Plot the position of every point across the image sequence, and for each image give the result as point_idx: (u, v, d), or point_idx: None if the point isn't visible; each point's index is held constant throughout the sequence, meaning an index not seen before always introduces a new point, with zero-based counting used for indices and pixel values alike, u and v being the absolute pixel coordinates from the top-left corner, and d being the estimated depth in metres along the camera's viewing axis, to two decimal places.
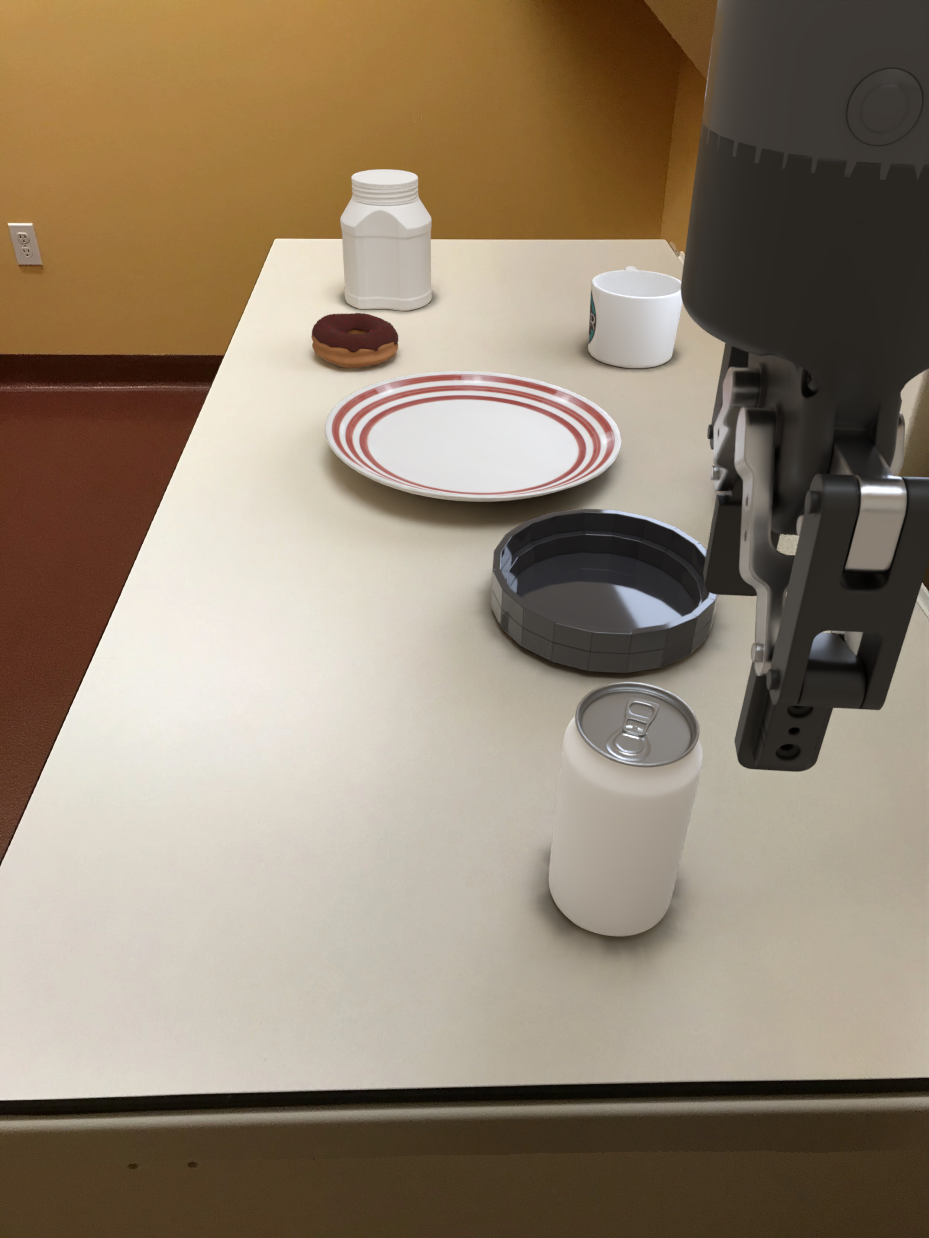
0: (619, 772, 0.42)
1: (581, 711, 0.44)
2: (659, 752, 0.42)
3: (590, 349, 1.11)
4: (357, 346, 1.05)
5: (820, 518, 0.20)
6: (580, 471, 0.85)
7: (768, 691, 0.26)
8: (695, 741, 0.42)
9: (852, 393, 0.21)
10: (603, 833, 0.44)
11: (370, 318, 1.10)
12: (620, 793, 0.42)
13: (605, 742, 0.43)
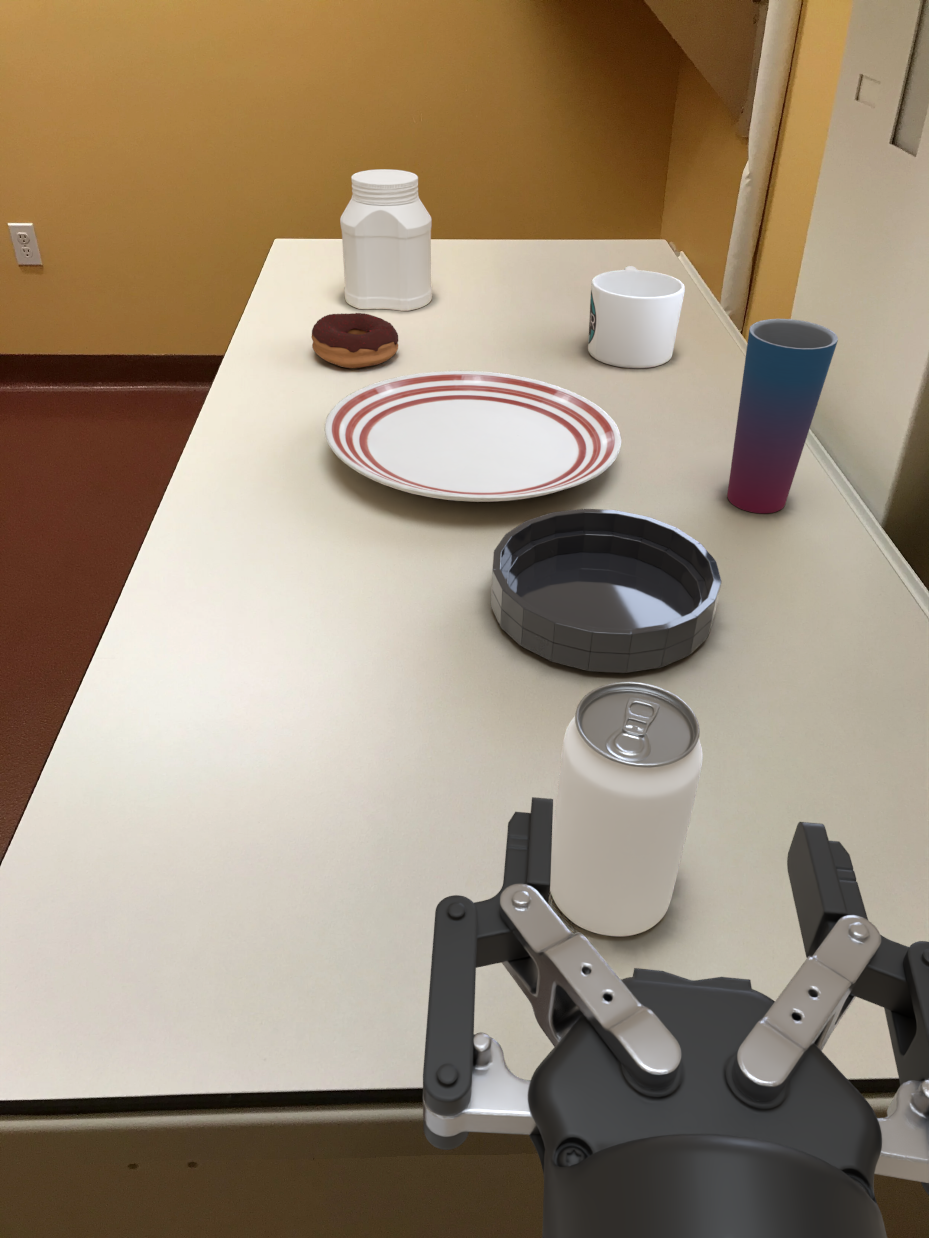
0: (619, 772, 0.42)
1: (581, 711, 0.44)
2: (659, 752, 0.42)
3: (590, 349, 1.11)
4: (357, 346, 1.05)
5: None
6: (580, 471, 0.85)
7: None
8: (695, 741, 0.42)
9: None
10: (603, 833, 0.44)
11: (370, 318, 1.10)
12: (620, 793, 0.42)
13: (606, 742, 0.43)
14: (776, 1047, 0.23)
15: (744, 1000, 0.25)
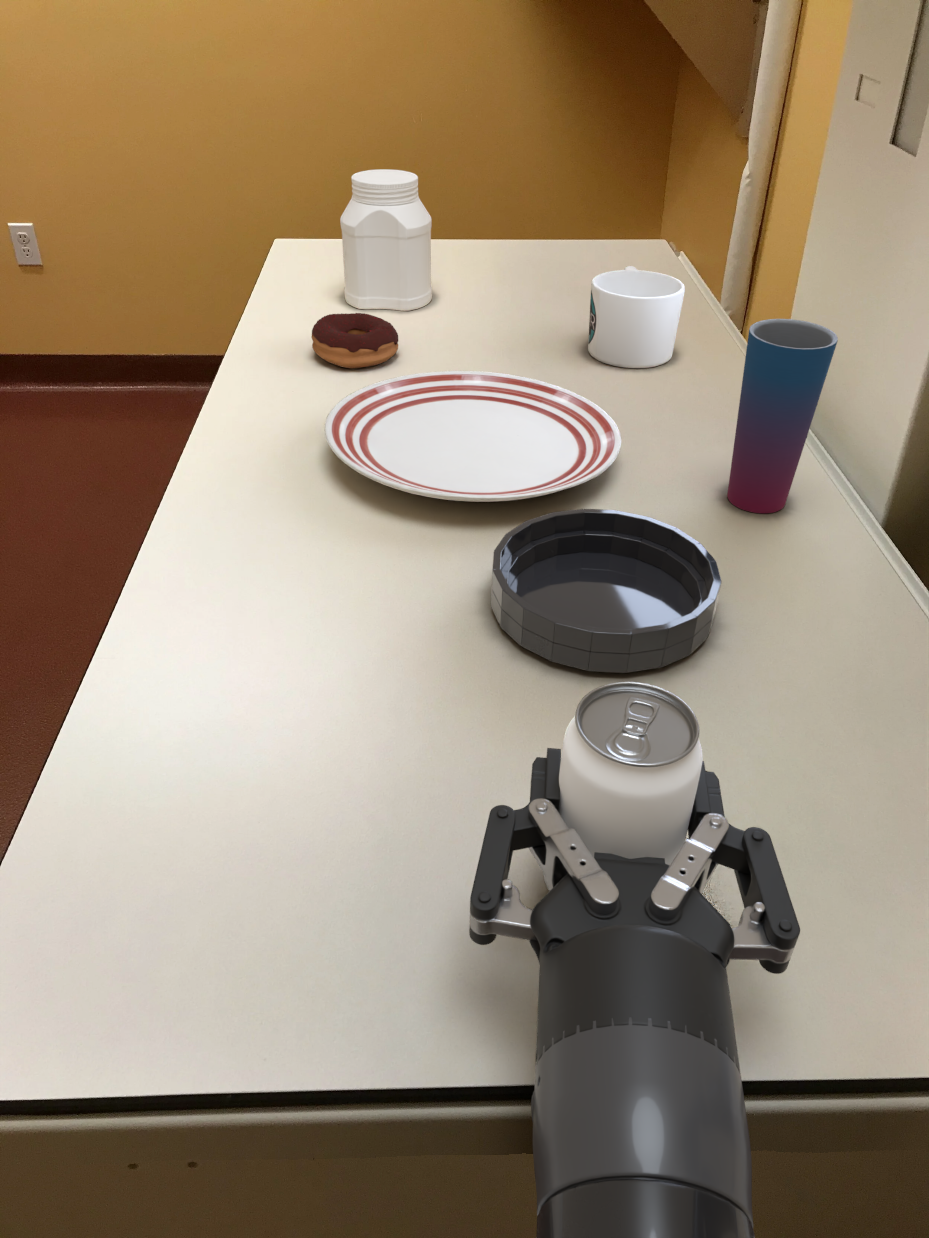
0: (619, 771, 0.42)
1: (581, 711, 0.44)
2: (659, 752, 0.42)
3: (590, 349, 1.11)
4: (357, 346, 1.05)
5: None
6: (580, 471, 0.85)
7: None
8: (695, 741, 0.42)
9: None
10: (603, 833, 0.44)
11: (370, 318, 1.10)
12: (620, 793, 0.42)
13: (605, 742, 0.43)
14: (672, 889, 0.40)
15: (659, 869, 0.42)
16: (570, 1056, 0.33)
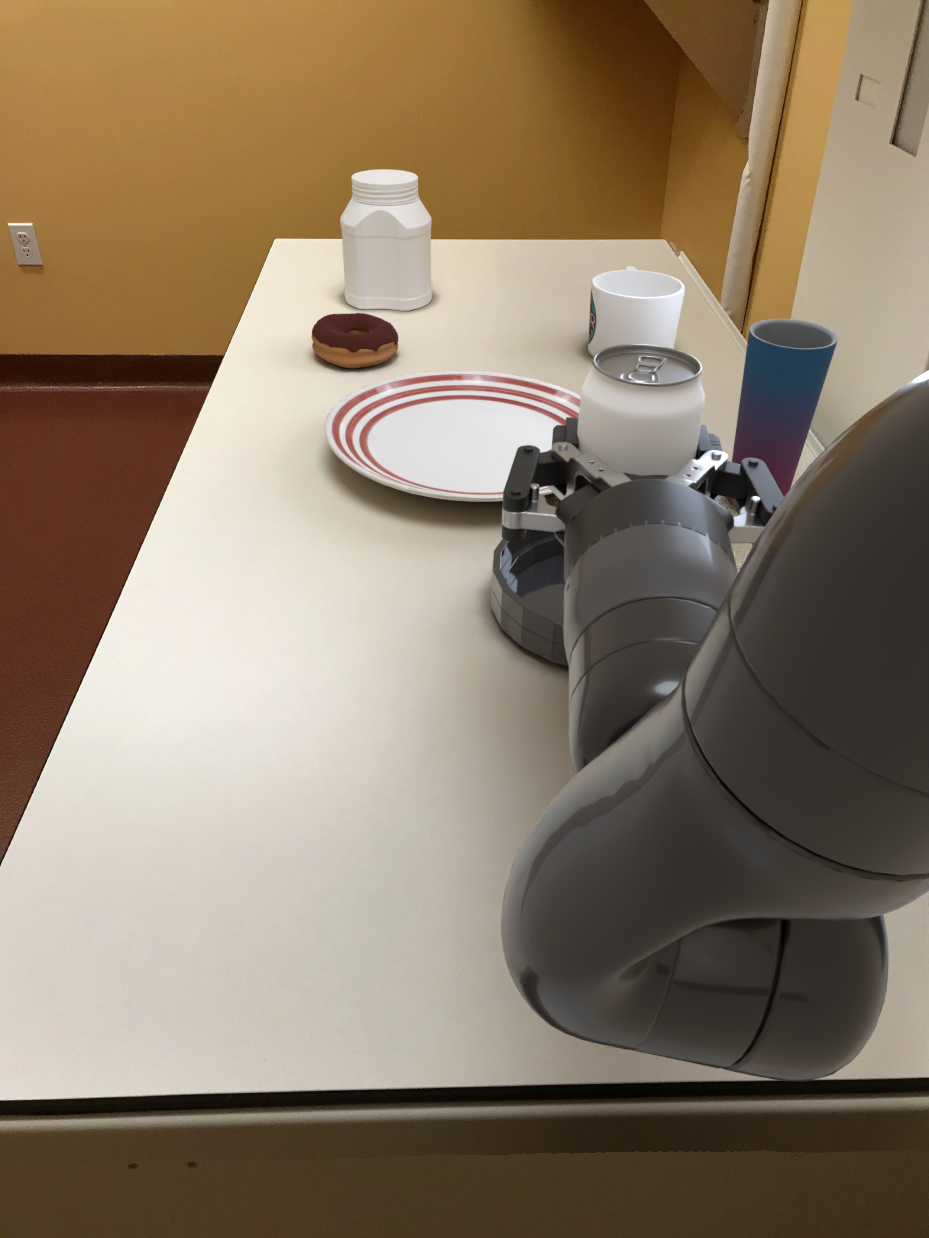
0: (632, 394, 0.48)
1: (597, 361, 0.50)
2: (667, 381, 0.48)
3: (590, 349, 1.11)
4: (357, 346, 1.05)
5: None
6: None
7: None
8: (698, 372, 0.48)
9: None
10: (618, 463, 0.50)
11: (370, 318, 1.10)
12: (633, 414, 0.48)
13: (620, 376, 0.49)
14: (679, 481, 0.46)
15: None
16: (595, 553, 0.39)
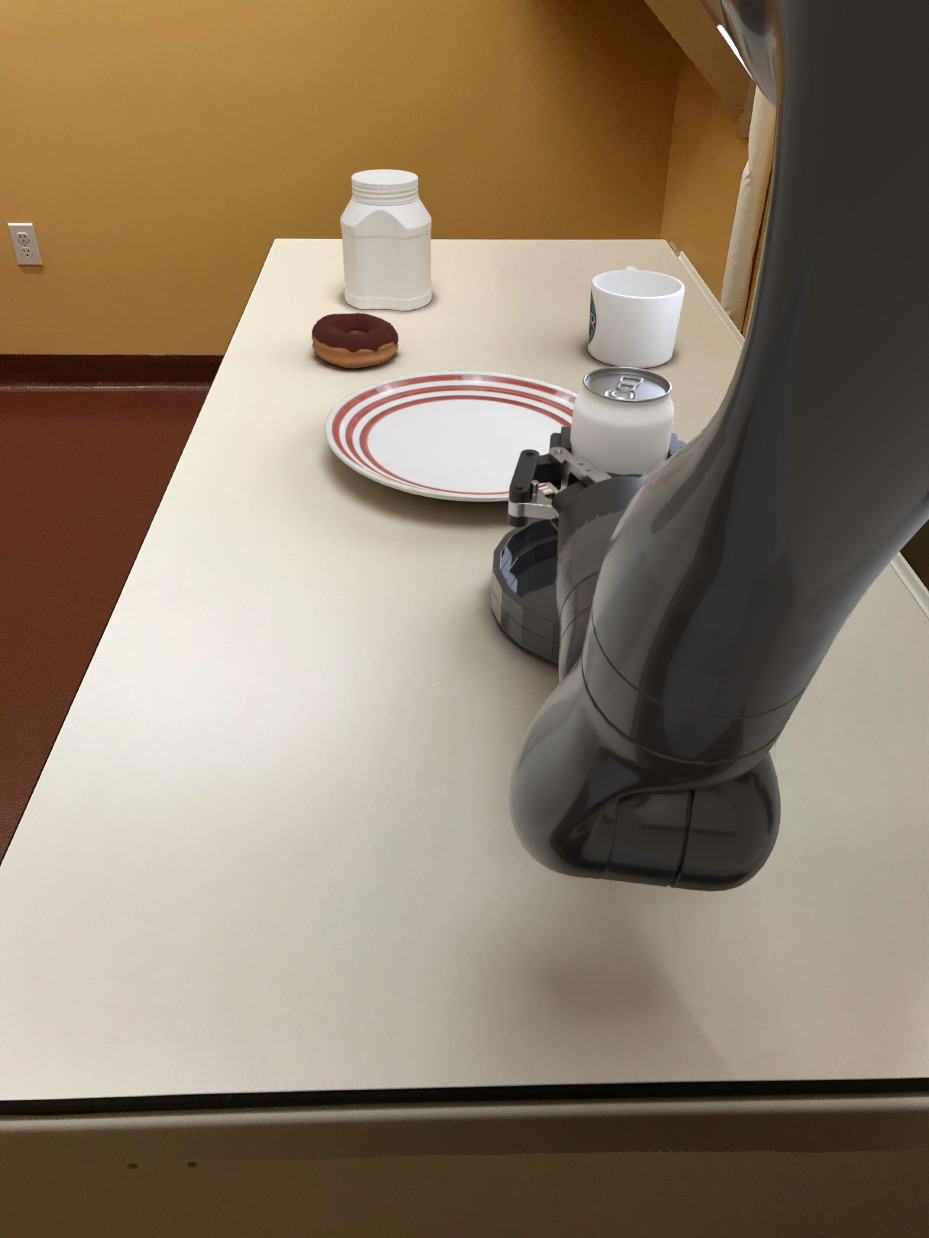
0: (614, 408, 0.59)
1: (587, 381, 0.62)
2: (643, 398, 0.59)
3: (590, 349, 1.11)
4: (357, 346, 1.05)
5: None
6: None
7: None
8: (668, 391, 0.60)
9: None
10: (602, 464, 0.61)
11: (370, 318, 1.10)
12: (615, 424, 0.59)
13: (604, 393, 0.60)
14: None
15: None
16: (581, 533, 0.50)
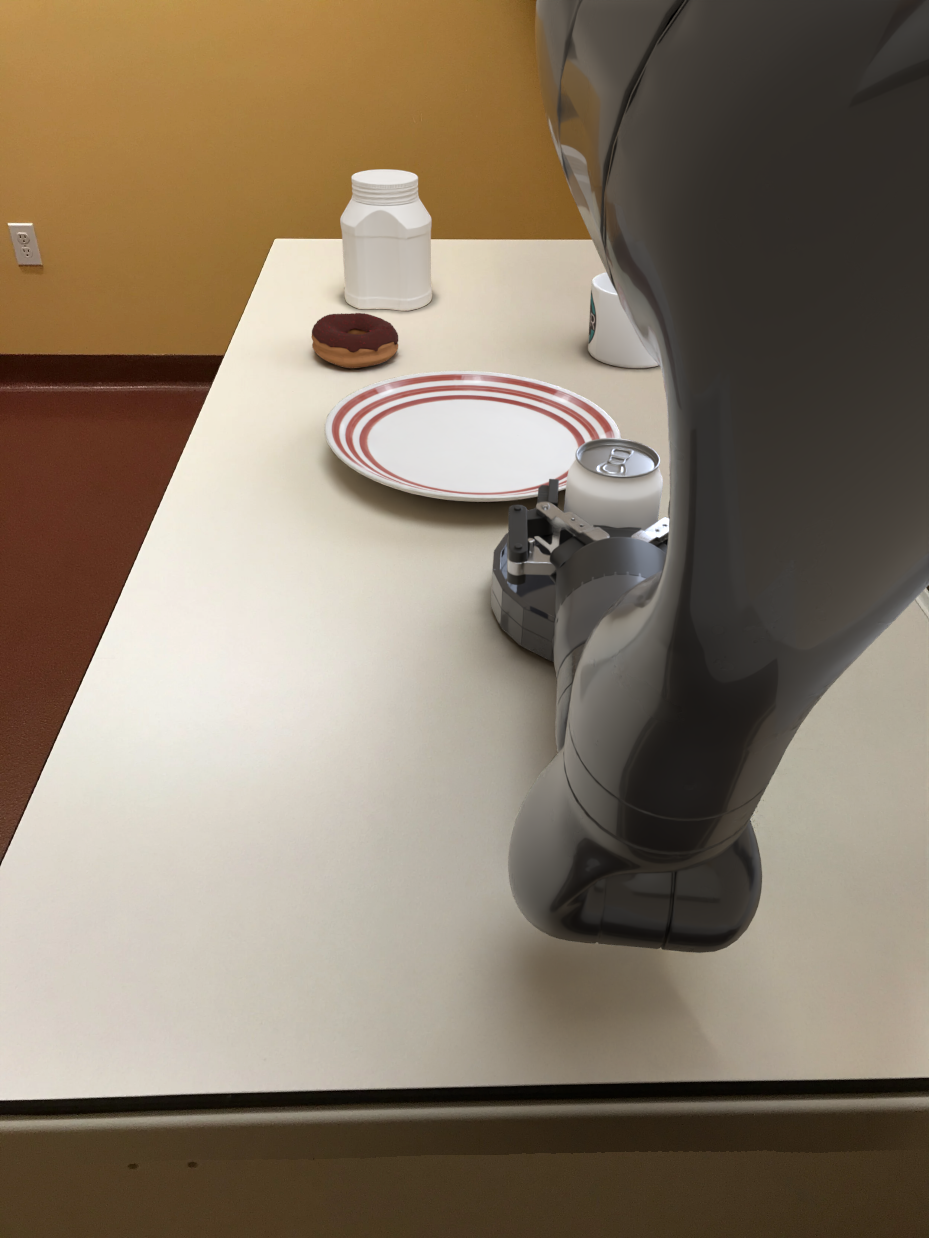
0: (605, 483, 0.62)
1: (579, 453, 0.65)
2: (632, 473, 0.62)
3: (590, 349, 1.11)
4: (357, 346, 1.05)
5: None
6: None
7: None
8: (657, 465, 0.63)
9: None
10: None
11: (370, 318, 1.10)
12: (606, 498, 0.62)
13: (596, 467, 0.63)
14: (646, 535, 0.59)
15: (637, 531, 0.61)
16: (577, 596, 0.53)
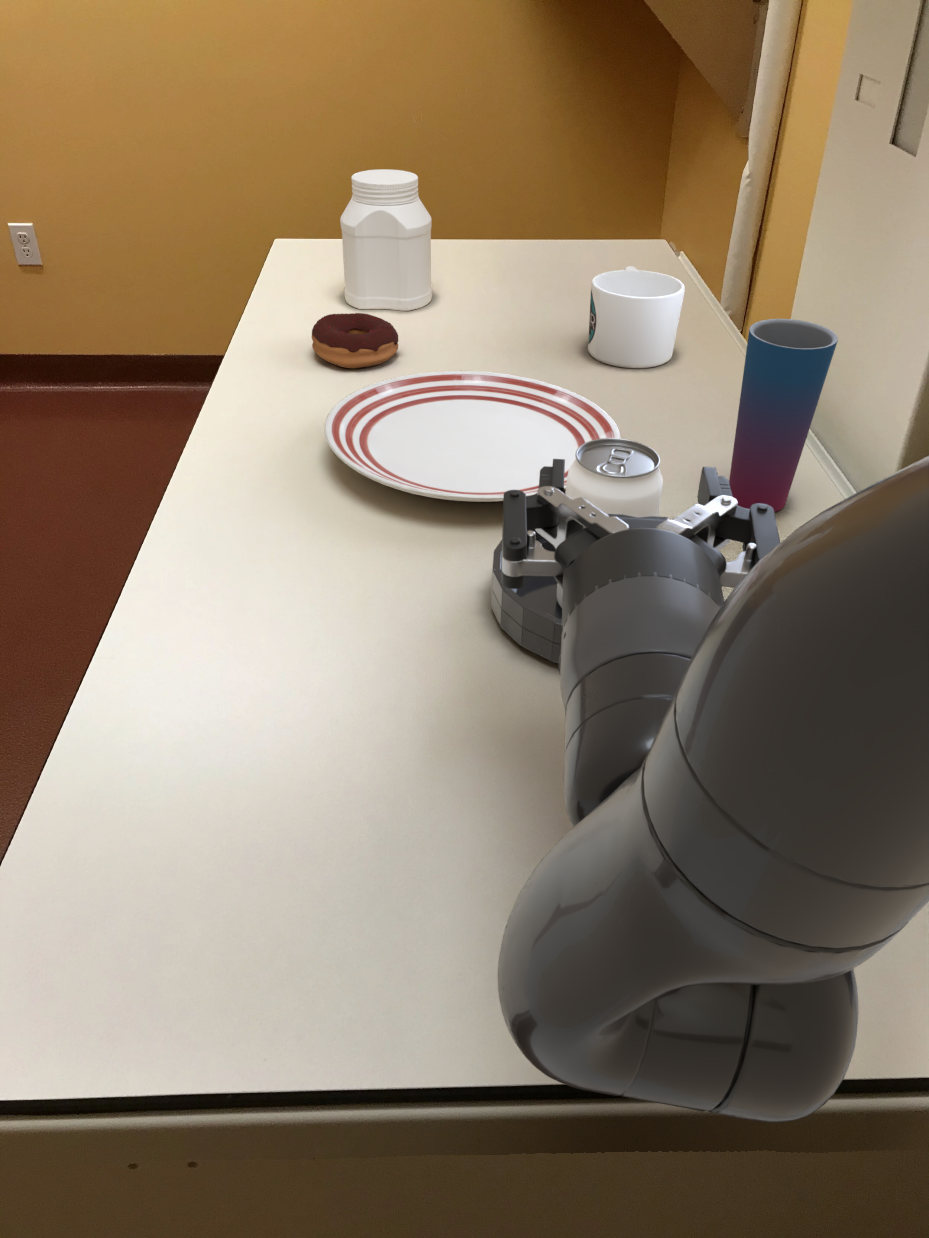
0: (605, 483, 0.62)
1: (579, 453, 0.65)
2: (632, 473, 0.62)
3: (590, 349, 1.11)
4: (357, 346, 1.05)
5: None
6: None
7: None
8: (657, 465, 0.63)
9: None
10: None
11: (370, 318, 1.10)
12: (606, 498, 0.62)
13: (596, 467, 0.63)
14: (675, 526, 0.48)
15: (663, 522, 0.49)
16: (590, 604, 0.41)
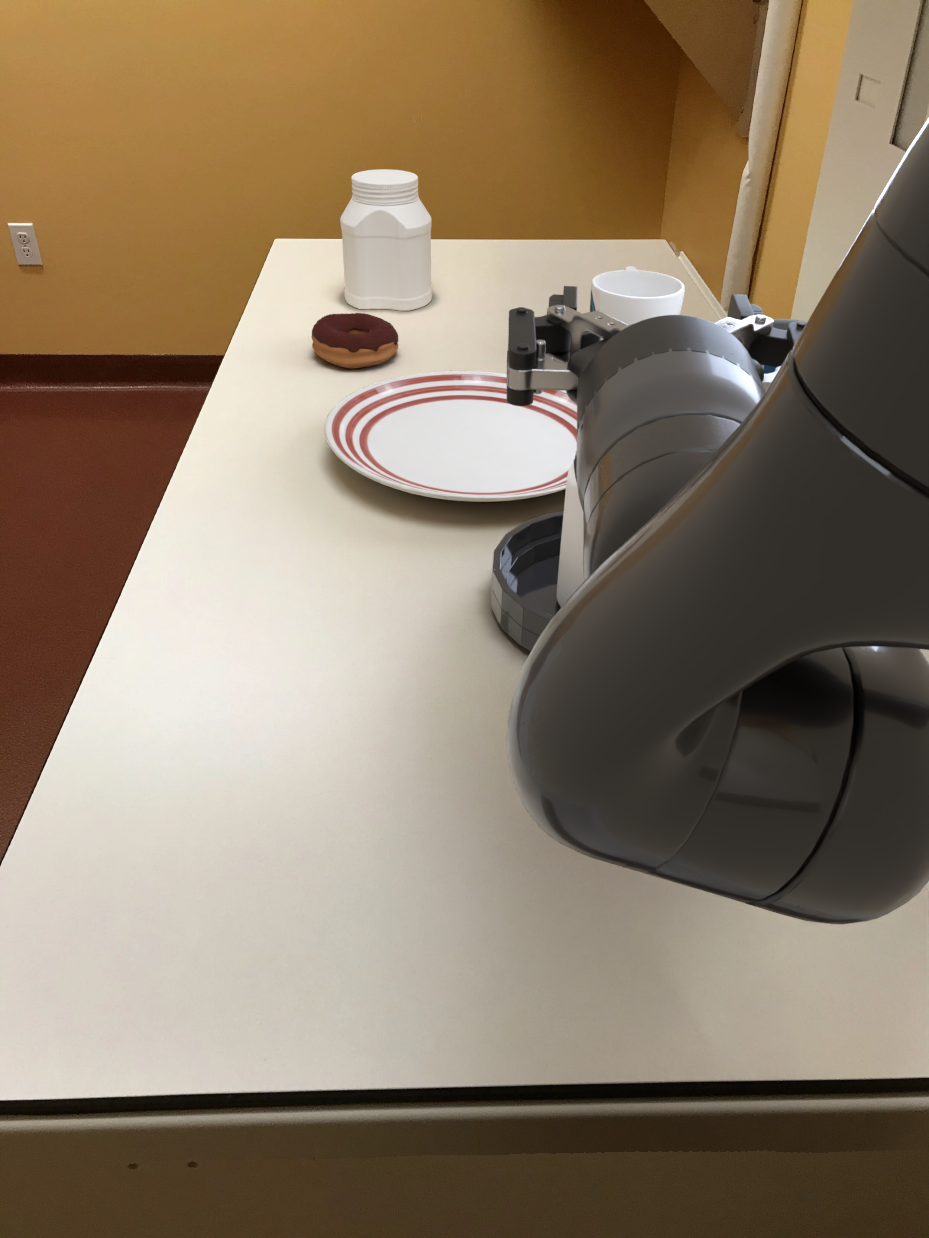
0: None
1: None
2: None
3: None
4: (357, 346, 1.05)
5: None
6: None
7: None
8: None
9: None
10: None
11: (370, 318, 1.10)
12: None
13: None
14: None
15: None
16: (613, 384, 0.35)
